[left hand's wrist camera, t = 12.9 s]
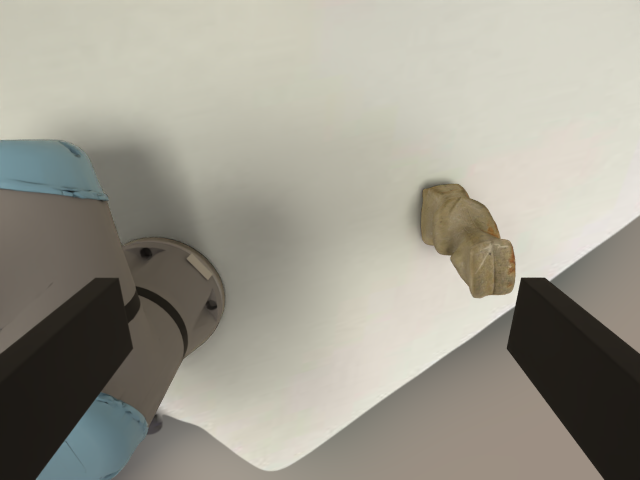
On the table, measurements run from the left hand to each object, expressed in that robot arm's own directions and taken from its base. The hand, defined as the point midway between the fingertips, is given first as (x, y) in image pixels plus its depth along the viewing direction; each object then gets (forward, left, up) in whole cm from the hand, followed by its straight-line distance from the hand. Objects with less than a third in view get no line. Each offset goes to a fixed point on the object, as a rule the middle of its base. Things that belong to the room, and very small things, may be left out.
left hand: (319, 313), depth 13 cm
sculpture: (+6, -13, -31) cm, 34 cm away
